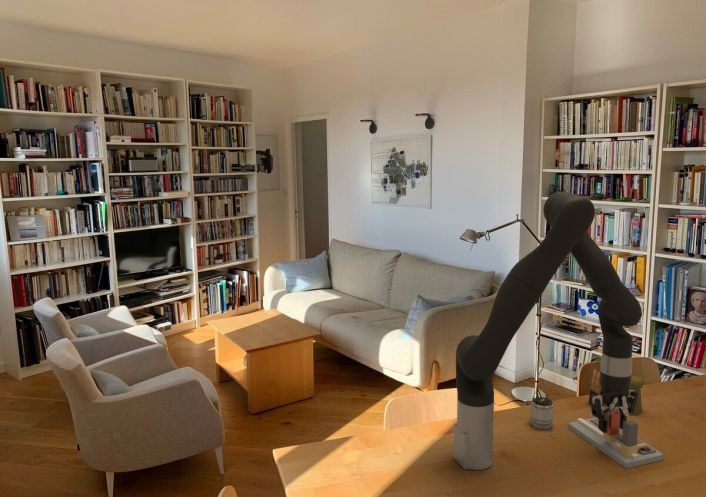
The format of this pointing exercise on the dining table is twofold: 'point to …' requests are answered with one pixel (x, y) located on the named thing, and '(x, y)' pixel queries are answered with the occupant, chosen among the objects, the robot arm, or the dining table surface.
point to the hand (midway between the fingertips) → (612, 429)
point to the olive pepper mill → (636, 386)
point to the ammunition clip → (596, 387)
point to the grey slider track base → (618, 443)
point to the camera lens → (542, 413)
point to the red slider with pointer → (613, 427)
